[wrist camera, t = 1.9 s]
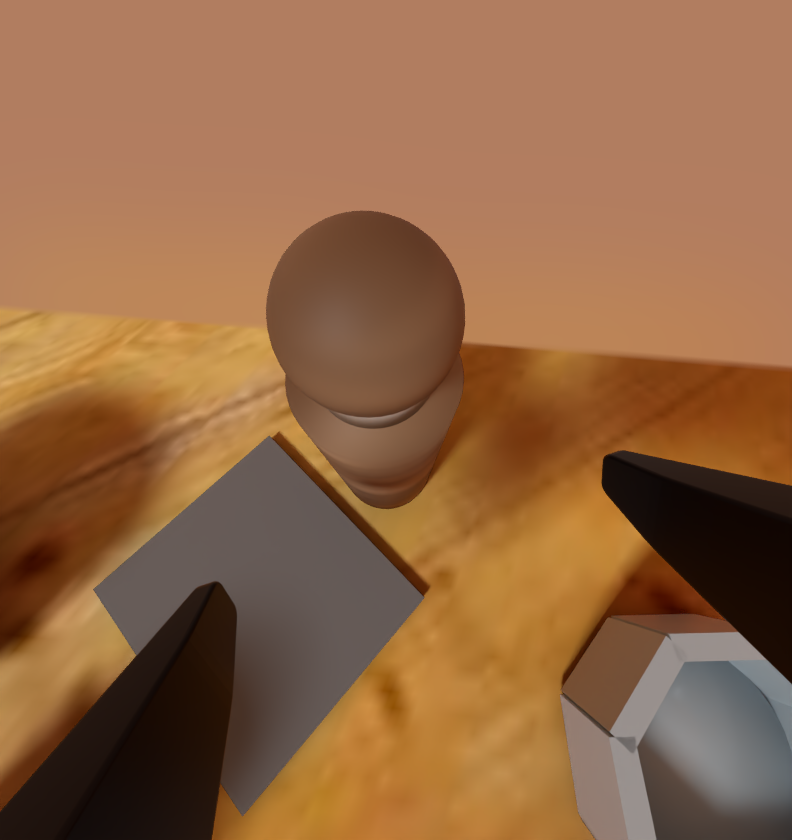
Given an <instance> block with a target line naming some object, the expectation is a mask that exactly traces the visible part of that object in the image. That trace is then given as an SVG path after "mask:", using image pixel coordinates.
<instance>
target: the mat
mask: <svg viewBox="0 0 792 840" xmlns="http://www.w3.org/2000/svg"><path fill="white" fill-rule="evenodd" d="M213 581H218V582H220V583H221V584H222V585H223V587H224V588H225V590H226V592H227V593H228V595H229V596H230V598H231V599H232V601H233V603H234V604H235V607H236V610H237V632H236V651H235V671H234V688H233V699H232V707H231V714H230V721H229V727H228V734H227V741H226V747H225V754H224V761H223V767H222V774H221V781H220V783H221V785H222V786H223V788H224V789H225V791H226V792H227V794H228V795H229V797H230V798H231V800H232V801H233V803H234V804H235V806H236V807H237V809H238V810H239V812H240V813H241V815H242V816H243V815H244V814H245V813H246V812H247V811H248V809H249V808H250V807H251V806H252V805H253V803H254V802H255V801H256V800H257V799H258V797H259V796H260V795H261V794H262V793H263V791H264V790H265V789H266V788H267V787H268V785H269V784H270V783H271V782H272V781H273V779H274V778H275V777H276V776H277V775H278V773H279V772H280V771H281V770H282V768H283V767H284V766H285V765H286V764H287V762H288V761H289V760H290V759H291V758H292V756H293V755H294V754H295V753H296V752H297V750H298V749H299V748H300V747H301V746H302V744H303V743H304V742H305V741H306V740H307V738H308V737H309V736H310V735H311V734H312V732H313V731H314V730H315V729H316V728H317V726H318V725H319V724H320V723H321V722H322V720H323V719H324V718H325V717H326V716H327V714H328V713H329V712H330V711H331V710H332V708H333V707H334V706H335V705H336V704H337V702H338V701H339V700H340V699H341V698H342V696H343V695H344V694H345V693H346V692H347V690H348V689H349V688H350V687H351V686H352V684H353V683H354V682H355V681H356V680H357V678H358V677H359V676H360V675H361V673H362V672H363V671H364V670H365V669H366V667H367V666H368V665H369V664H370V663H371V661H372V660H373V659H374V658H375V657H376V655H377V654H378V653H379V652H380V651H381V649H382V648H383V647H384V646H385V645H386V643H387V642H388V641H389V640H390V639H391V637H392V636H393V635H394V634H395V633H396V631H397V630H398V629H399V628H400V627H401V625H402V624H403V623H404V622H405V621H406V619H407V618H408V617H409V616H410V615H411V613H412V612H413V611H414V610H415V609H416V607H417V606H418V605H419V604H420V603H421V601H422V600H423V599H424V596H423V595H422V594H421V593H420V592H419V591H418V590H417V589H416V588H415V587H414V586H413V585H412V584H411V583H410V582H409V581H408V580H407V579H406V578H405V576H404V575H403V574H402V573H401V572H400V571H399V570H398V569H397V568H396V567H395V566H394V565H393V564H392V563H391V562H390V561H389V560H388V559H387V558H386V557H385V556H384V555H383V554H382V552H381V551H380V550H379V549H378V548H377V547H376V546H375V545H374V544H373V543H372V542H371V541H370V540H369V539H368V538H367V537H366V536H365V535H364V534H363V533H362V532H361V531H360V530H359V528H358V527H357V526H356V525H355V524H354V523H353V522H352V521H351V520H350V519H349V518H348V517H347V516H346V515H345V514H344V513H343V512H342V511H341V510H340V509H339V508H338V507H337V506H336V504H335V503H334V502H333V501H332V500H331V499H330V498H329V497H328V496H327V495H326V494H325V493H324V492H323V491H322V490H321V489H320V488H319V487H318V486H317V485H316V484H315V483H314V482H313V480H312V479H311V478H310V477H309V476H308V475H307V474H306V473H305V472H304V471H303V470H302V469H301V468H300V467H299V466H298V465H297V464H296V463H295V462H294V461H293V460H292V459H291V458H290V456H289V455H288V454H287V453H286V452H285V451H284V450H283V449H282V448H281V447H280V446H279V445H278V444H277V443H276V442H275V441H274V440H273V439H272V438H271V437H270V436H268V437H267V438H266V439H265V440H264V441H262V442H261V443H260V444H259V445H258V446H257V447H256V448H254V449H253V450H252V451H251V452H250V453H249V454H248V455H246V456H245V457H244V458H243V459H242V460H241V461H240V462H238V463H237V464H236V465H235V466H234V467H233V468H232V469H230V470H229V471H228V472H227V473H226V474H225V475H224V476H222V477H221V478H220V479H219V480H218V481H217V482H216V483H214V484H213V485H212V486H211V487H210V488H209V489H208V490H206V491H205V492H204V493H203V494H202V495H201V496H199V497H198V498H197V499H196V500H195V501H194V502H193V503H191V504H190V505H189V506H188V507H187V508H186V509H185V510H183V511H182V512H181V513H180V514H179V515H178V516H177V517H175V518H174V519H173V520H172V521H171V522H170V523H169V524H167V525H166V526H165V527H164V528H163V529H162V530H161V531H159V532H158V533H157V534H156V535H155V536H154V537H153V538H151V539H150V540H149V541H148V542H147V543H146V544H145V545H143V546H142V547H141V548H140V549H139V550H138V551H137V552H135V553H134V554H133V555H132V556H131V557H130V558H128V559H127V560H126V561H125V562H124V563H123V564H122V565H120V566H119V567H118V568H117V569H116V570H115V571H114V572H112V573H111V574H110V575H109V576H108V577H107V578H106V579H104V580H103V581H102V582H101V583H100V584H99V585H98V586H96V587H95V588H94V589H93V590H94V591H95V593H96V594H97V596H98V597H99V599H100V601H101V602H102V604H103V605H104V607H105V608H106V610H107V611H108V613H109V614H110V616H111V617H112V619H113V620H114V622H115V623H116V625H117V626H118V628H119V629H120V631H121V632H122V634H123V636H124V637H125V639H126V640H127V642H128V643H129V645H130V646H131V648H132V649H133V651H134V652H135V654H136V655H138V654H139V652H140V651H141V650H142V649H143V648H144V647H145V645H146V644H147V643H148V642H149V641H150V640H151V639H152V637H153V636H154V635H155V634H156V633H157V632H158V631H159V629H160V628H161V627H162V626H163V625H164V624H165V623H166V621H167V620H168V619H169V618H170V617H171V616H172V615H173V613H174V612H175V611H176V610H177V609H178V608H179V607H180V605H181V604H182V603H183V602H184V601H185V600H186V599H187V597H188V596H189V595H190V594H191V593H192V592H193V591H194V590H195V589H196V588H197V587H199V586H201V585H204V584H207V583H210V582H213Z"/></svg>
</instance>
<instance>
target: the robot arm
mask: <svg viewBox="0 0 792 840" xmlns="http://www.w3.org/2000/svg"><path fill="white" fill-rule="evenodd" d="M602 487H603V490H604V491H605V493H606V494H607V495H608V497H609V498H610V499H611V500H612V501H613V503H614V504H615V505H616V506H617V507H618V508H619V510H620V511H621V512H622V513H623V514H624V515H625V517H626V518H627V519H628V520H629V521H630V522H631V524H632V525H633V526H634V527H635V528H636V530H637V531H638V532H639V533H640V534H641V535H642V537H643V538H644V539H645V540H646V541H647V542H648V543H649V544H650V545H651V547H652V548H653V549H654V550H655V551H656V552H657V553H658V554H659V555H660V556H661V557H662V558H663V559H664V560H665V561H666V562H667V563H668V564H669V565H670V566H671V567H672V568H673V569H674V570H676V571H677V572H678V573H679V574H680V575H681V576H682V577H683V578H684V579H685V580H686V581H687V582H688V583H689V584H690V585H691V586H692V587H693V588H694V589H695V590H696V591H697V592H698V593H699V594H700V595H701V596H702V597H703V598H704V599H705V600H706V601H707V602H708V603H709V604H710V605H711V606H712V607H713V608H714V609H715V610H716V611H717V612H718V613H719V614H720V615H721V616H722V617H723V618H724V619H725V620H727V621H728V622H729V623H730V624H731V625H732V626H733V627H734V628H735V629H736V630H737V631H738V632H739V633H740V634H741V635H742V636H743V637H744V638H745V639H746V640H747V641H748V642H749V643H750V644H751V645H752V646H753V647H754V648H755V649H756V650H757V651H758V652H759V653H760V654H761V655H762V656H763V657H764V658H765V659H766V660H767V661H768V662H769V663H770V664H771V665H772V666H773V667H774V668H775V669H776V670H777V671H779V672H780V673H781V674H782V675H783V676H784V677H785V678H786V679H787V680H788V681H789V682H790V683H791V684H792V486H790V485H785V484H781V483H776V482H771V481H766V480H762V479H757V478H752V477H747V476H743V475H738V474H733V473H728V472H724V471H719V470H714V469H709V468H705V467H700V466H695V465H691V464H686V463H681V462H676V461H672V460H667V459H662V458H657V457H653V456H648V455H643V454H638V453H634V452H629V451H617V452H614V453H611V454H608V455H606V456H605V457H604V459H603V467H602ZM236 632H237V610H236V607H235V604H234V603H233V601H232V599H231V598H230V596H229V595H228V593H227V592H226V590H225V588H224V587H223V585H222V584H221V583H220V582H218V581H213V582H210V583H207V584H204V585H201V586H199V587H197V588H196V589H195V590H194V591H193V592H192V593H191V594H190V595H189V596H188V597H187V599H186V600H185V601H184V602H183V603H182V604H181V605H180V607H179V608H178V609H177V610H176V611H175V612H174V613H173V615H172V616H171V617H170V618H169V619H168V620H167V621H166V623H165V624H164V625H163V626H162V627H161V628H160V629H159V631H158V632H157V633H156V634H155V635H154V636H153V637H152V639H151V640H150V641H149V642H148V643H147V644H146V645H145V647H144V648H143V649H142V650H141V651H140V652H139V654H138V655H137V656H136V657H135V658H134V659H133V660H132V662H131V663H130V664H129V665H128V666H127V667H126V668H125V670H124V671H123V672H122V673H121V674H120V675H119V676H118V678H117V679H116V680H115V681H114V682H113V683H112V684H111V686H110V687H109V688H108V689H107V690H106V691H105V692H104V694H103V695H102V696H101V697H100V698H99V699H98V700H97V702H96V703H95V704H94V705H93V706H92V707H91V709H90V710H89V711H88V712H87V713H86V714H85V715H84V717H83V718H82V719H81V720H80V721H79V722H78V723H77V725H76V726H75V727H74V728H73V729H72V730H71V731H70V733H69V734H68V735H67V736H66V737H65V738H64V739H63V741H62V742H61V743H60V744H59V745H58V746H57V747H56V749H55V750H54V751H53V752H52V753H51V754H50V755H49V757H48V758H47V759H46V760H45V761H44V762H43V763H42V765H41V766H40V767H39V768H38V769H37V770H36V771H35V773H34V774H33V775H32V776H31V777H30V778H29V779H28V781H27V782H26V783H25V784H24V785H23V786H22V787H21V789H20V790H19V791H18V792H17V793H16V794H15V795H14V797H13V798H12V799H11V800H10V801H9V802H8V803H7V805H6V806H5V807H4V808H3V809H2V810H1V812H0V840H212V834H213V827H214V820H215V814H216V807H217V801H218V794H219V787H220V781H221V774H222V767H223V761H224V754H225V747H226V741H227V734H228V727H229V721H230V714H231V707H232V699H233V688H234V671H235V651H236Z"/></svg>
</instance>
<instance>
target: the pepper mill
mask: <svg viewBox="0 0 792 840" xmlns="http://www.w3.org/2000/svg"><path fill="white" fill-rule="evenodd" d="M266 319H267V329H268V333H269V337H270V341H271V345H272V348H273V351H274V353H275V355H276V357H277V359H278V362H279V364H280V366H281V367H282V369H283V370H284V372H285V373H286V381H285V386H286V395H287V399H288V402H289V406H290V408H291V411H292V413H293V415H294V417H295V418H296V420H297V422H298V423H299V425H300V426H301V427H302V429H303V430H304V431H305V432H306V434H307V435H308V436H309V437H310V439H311V440H312V441H313V442H314V444H315V445H316V446H317V448H318V449H319V450H320V451H321V453H322V454H323V455H324V456H325V458H326V459H327V460H328V461H329V463H330V464H331V465H332V466H333V468H334V469H335V470H336V472H337V473H338V474H339V475H340V477H341V478H342V479H343V480H344V482H345V483H346V484H347V485H348V487H349V488H350V489H351V490H352V492H353V493H354V494H355V495H356V496H357V497H358V498H359V499H360V500H361V501H363V502H364V503H366V504H368V505H370V506H373V507H376V508H381V509H391V508H397V507H400V506H403V505H405V504H407V503H409V502H410V501H412V500H413V499H414V498H415V497H416V496H417V495H418V494H419V493H420V492H421V491H422V489H423V487H424V486H425V483H426V481H427V479H428V476H429V474H430V472H431V469H432V467H433V464H434V462H435V460H436V457H437V455H438V453H439V450H440V448H441V445H442V443H443V441H444V438H445V436H446V434H447V431H448V429H449V426H450V424H451V422H452V419H453V417H454V415H455V412H456V410H457V408H458V405H459V403H460V399H461V396H462V392H463V384H464V371H463V365H462V360H461V357H460V354H459V351H460V347H461V344H462V340H463V335H464V327H465V304H464V299H463V294H462V290H461V285H460V283H459V280H458V277H457V275H456V273H455V270H454V268H453V266H452V264H451V263H450V261H449V259H448V258H447V257H446V255H445V254H444V252H443V251H442V250H441V249H440V247H439V246H438V245H437V244H436V243H435V241H433V239H431V237H429V236H428V235H427V234H426V233H424V232H423V231H422V230H420V229H419V228H418V227H416V226H414V225H413V224H411V223H410V222H407V221H405V220H403V219H401V218H398V217H395V216H392V215H389V214H385V213H381V212H374V211H352V212H346V213H341V214H337V215H334V216H331V217H328V218H326V219H324V220H322V221H320V222H318V223H316V224H315V225H313V226H311V227H310V228H308V229H307V230H306V231H304V232H303V233H302V234H301V235H299V236H298V237H297V238H296V240H294V241H293V243H292V244H291V245H290V246H289V247H288V249H287V250H286V251H285V253H284V254H283V255H282V257H281V259H280V261H279V262H278V265H277V267H276V269H275V271H274V274H273V276H272V279H271V282H270V286H269V291H268V296H267V305H266Z"/></svg>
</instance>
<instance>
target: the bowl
mask: <svg viewBox="0 0 792 840" xmlns="http://www.w3.org/2000/svg"><path fill="white" fill-rule="evenodd" d="M561 691H562V692H563V693H564V694H560V698H561V704H562V711H563V717H564V723H565V730H566V736H567V743H568V749H569V756H570V762H571V768H572V775H573V781H574V788H575V794H576V801H577V807H578V813H579V815H580V816H581V819H582V821H583V822H584V824H585V825H586V827H587V828H588V830H589V831H590V832H591V834H592V835H593V837H594V838H595V840H792V684H791V683H790V682H789V681H788V680H787V679H786V678H785V677H784V676H783V675H782V674H781V673H780V672H779V671H777V670H776V669H775V668H774V667H773V666H772V665H771V664H770V663H769V662H768V661H767V660H766V659H765V658H764V657H763V656H762V655H761V654H760V653H759V652H758V651H757V650H756V649H755V648H754V647H753V646H752V645H751V644H750V643H749V642H748V641H747V640H746V639H745V638H744V637H743V636H742V635H741V634H740V633H739V632H738V631H737V630H736V629H735V628H734V627H733V626H732V625H731V624H730V623H729V622H728V621H725V620H720V619H716V618H711V617H706V616H702V615H697V614H658V615H616V616H611V618H609V617H608V618H607V619H606V621H605V622H604V624H603V626H602V627H601V629H600V630H599V632H598V633H597V635H596V636H595V638H594V639H593V641H592V642H591V644H590V646H589V647H588V649H587V650H586V652H585V653H584V655H583V656H582V658H581V659H580V661H579V662H578V664H577V665H576V667H575V669H574V670H573V672H572V673H571V675H570V676H569V678H568V679H567V681H566V682H565V684H564V685H563V687H562V689H561ZM763 695H764V696H765V697H764V696H763ZM765 698H766V699H765Z"/></svg>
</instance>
